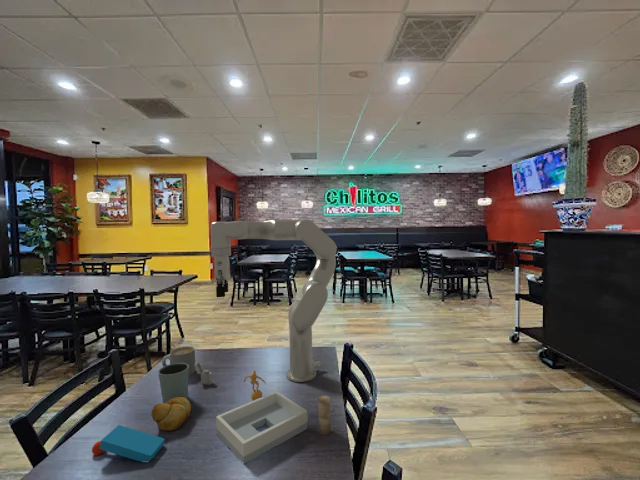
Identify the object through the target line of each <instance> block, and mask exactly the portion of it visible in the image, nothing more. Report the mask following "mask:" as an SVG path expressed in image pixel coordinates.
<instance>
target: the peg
mask: <svg viewBox="0 0 640 480" xmlns="http://www.w3.org/2000/svg"><path fill="white" fill-rule="evenodd" d="M317 399H318V400H317V402H318V403H317V404H318V405H317V406H318V409H317V410H318V432H319V434H320V435H324V436H325V435H328V434H329V435H330V433H331V398H330V397H329V396H328V395H321V396H319V397H318V398H317Z"/></svg>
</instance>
